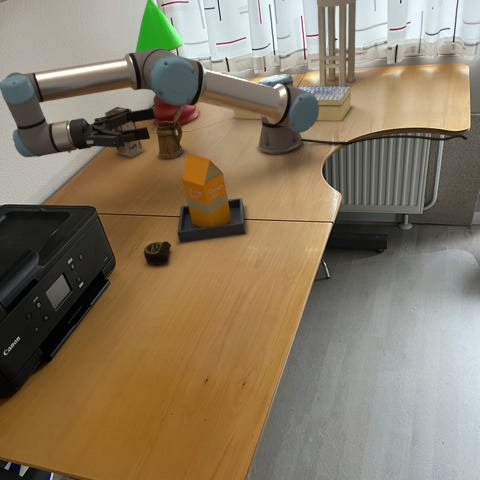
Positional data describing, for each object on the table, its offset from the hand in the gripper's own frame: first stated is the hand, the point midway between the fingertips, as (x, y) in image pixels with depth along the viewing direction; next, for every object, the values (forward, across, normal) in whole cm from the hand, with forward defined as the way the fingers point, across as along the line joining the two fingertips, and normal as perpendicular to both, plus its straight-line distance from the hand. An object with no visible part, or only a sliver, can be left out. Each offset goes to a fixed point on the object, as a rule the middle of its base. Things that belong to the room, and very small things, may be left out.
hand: (151, 122), depth 127 cm
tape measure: (-3, +20, -29) cm, 36 cm away
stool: (+66, -97, -30) cm, 121 cm away
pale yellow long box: (+43, -71, -29) cm, 88 cm away
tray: (+11, +7, -29) cm, 32 cm away
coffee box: (-22, -56, -29) cm, 67 cm away
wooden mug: (-4, -48, -29) cm, 56 cm away
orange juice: (+11, +7, -28) cm, 31 cm away
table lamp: (-6, -86, -29) cm, 91 cm away
